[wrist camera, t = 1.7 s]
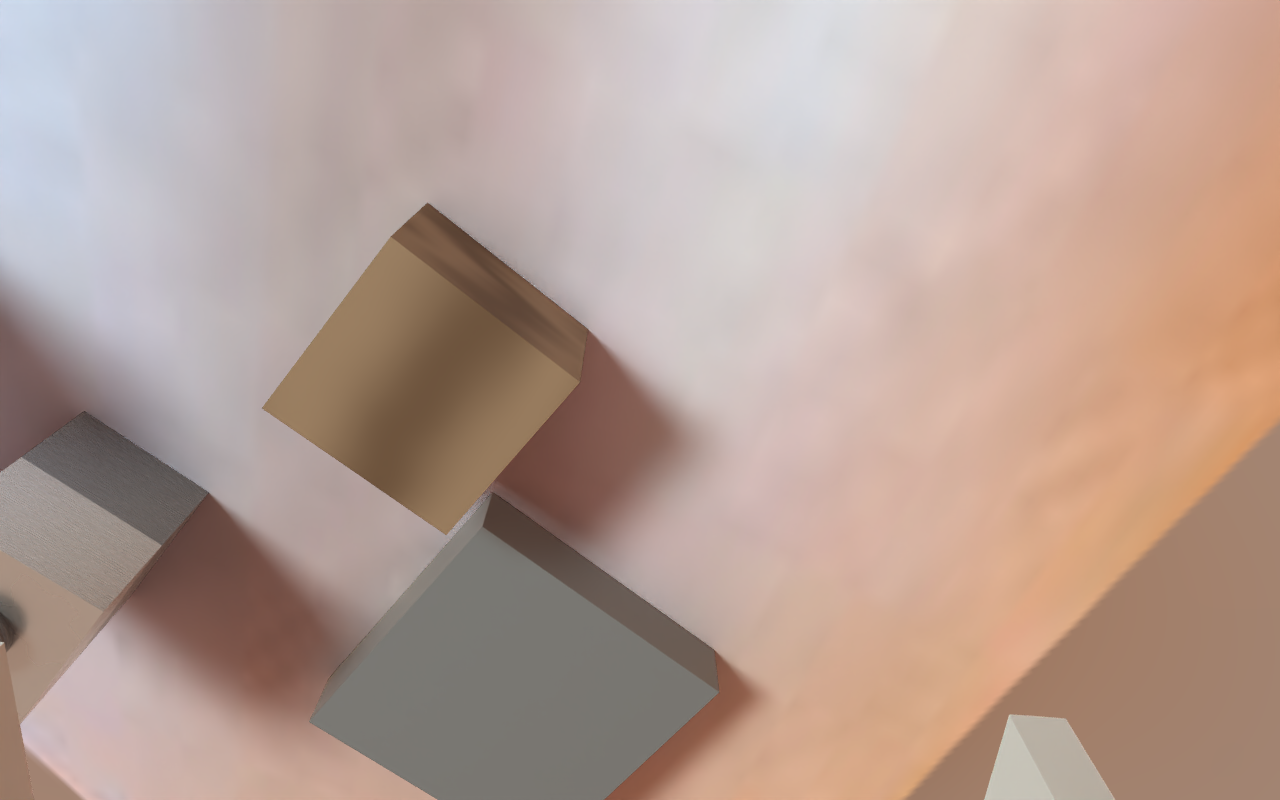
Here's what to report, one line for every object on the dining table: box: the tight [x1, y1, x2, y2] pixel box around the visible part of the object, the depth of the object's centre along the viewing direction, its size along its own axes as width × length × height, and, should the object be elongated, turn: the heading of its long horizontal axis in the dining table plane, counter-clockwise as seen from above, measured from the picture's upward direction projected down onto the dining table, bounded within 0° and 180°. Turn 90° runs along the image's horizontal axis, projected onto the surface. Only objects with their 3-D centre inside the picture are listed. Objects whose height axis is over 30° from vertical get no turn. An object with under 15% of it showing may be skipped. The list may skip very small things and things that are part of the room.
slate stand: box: [309, 492, 719, 800], centre depth 44 cm, size 13×13×3 cm
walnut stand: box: [262, 203, 588, 535], centre depth 36 cm, size 8×8×6 cm
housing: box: [0, 411, 209, 724], centre depth 38 cm, size 6×7×10 cm
